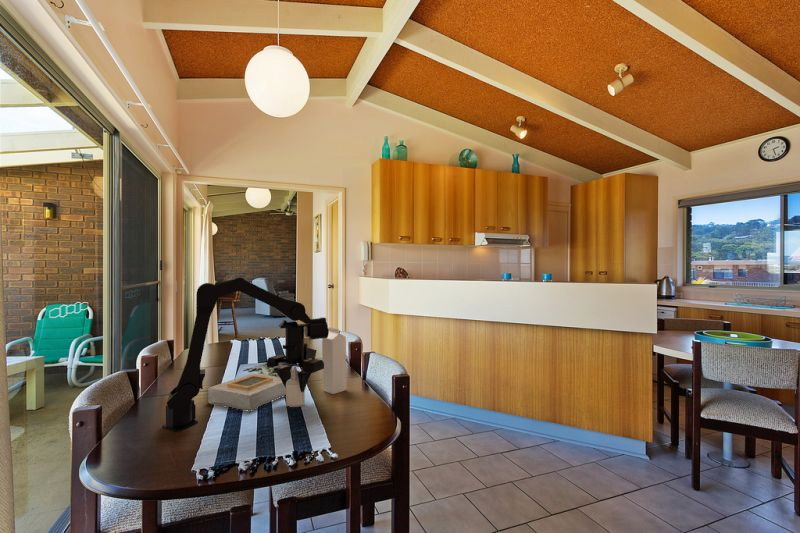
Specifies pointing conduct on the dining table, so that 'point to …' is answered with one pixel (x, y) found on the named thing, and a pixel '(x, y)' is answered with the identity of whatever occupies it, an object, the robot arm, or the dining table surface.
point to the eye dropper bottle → (294, 391)
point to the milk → (334, 362)
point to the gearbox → (247, 392)
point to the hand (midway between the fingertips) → (295, 390)
